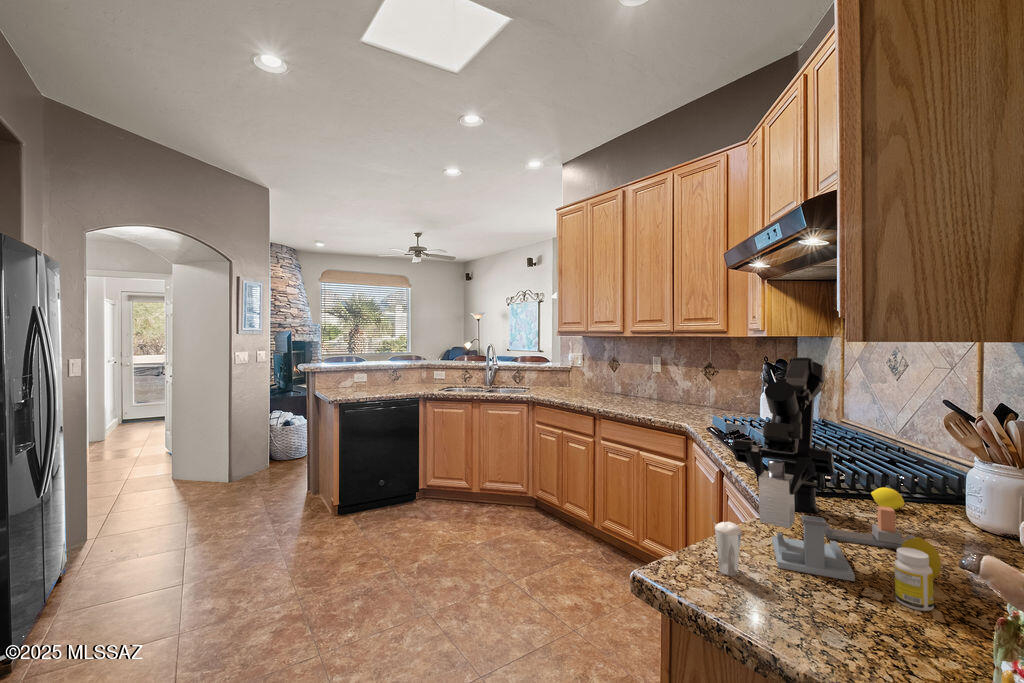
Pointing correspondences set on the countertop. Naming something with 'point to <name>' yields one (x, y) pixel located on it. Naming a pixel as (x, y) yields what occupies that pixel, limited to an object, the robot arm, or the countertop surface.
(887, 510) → the lever
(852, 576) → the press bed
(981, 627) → the countertop surface
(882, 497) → the lemon
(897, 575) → the supplement bottle
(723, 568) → the milkshake
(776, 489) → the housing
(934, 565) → the lemon
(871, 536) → the rail
